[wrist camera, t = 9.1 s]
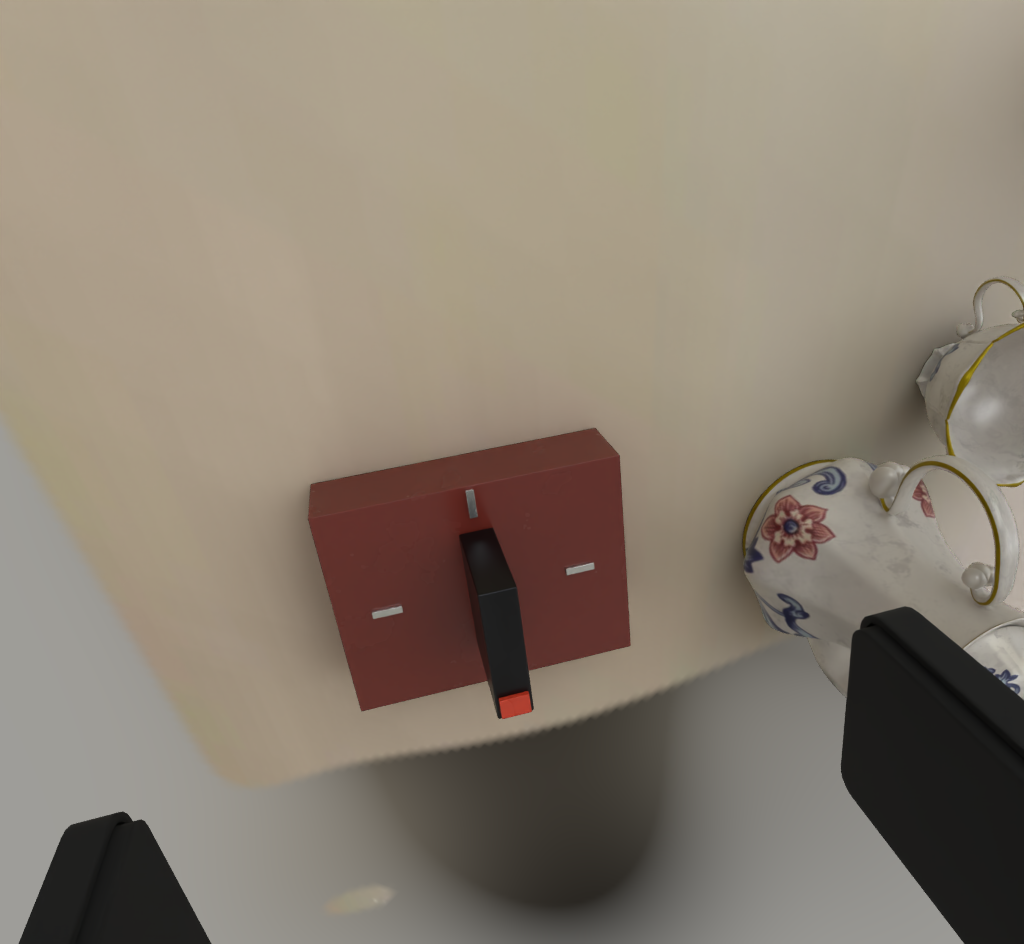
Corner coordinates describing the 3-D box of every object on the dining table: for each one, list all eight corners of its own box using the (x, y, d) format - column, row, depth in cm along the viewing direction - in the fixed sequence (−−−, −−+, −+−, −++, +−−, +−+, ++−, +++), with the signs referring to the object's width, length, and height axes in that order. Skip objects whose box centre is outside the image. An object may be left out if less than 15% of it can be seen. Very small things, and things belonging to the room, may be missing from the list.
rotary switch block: (595, 427, 36) (621, 456, 33) (608, 607, 41) (631, 648, 38) (310, 483, 34) (307, 520, 31) (359, 665, 39) (361, 714, 36)
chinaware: (919, 666, 51) (1184, 872, 36) (708, 737, 47) (913, 1001, 32) (1001, 253, 39) (1445, 317, 24) (727, 300, 35) (1067, 410, 20)
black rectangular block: (458, 534, 33) (478, 599, 28) (493, 526, 33) (518, 590, 28) (478, 647, 36) (499, 723, 31) (510, 639, 36) (535, 714, 31)
